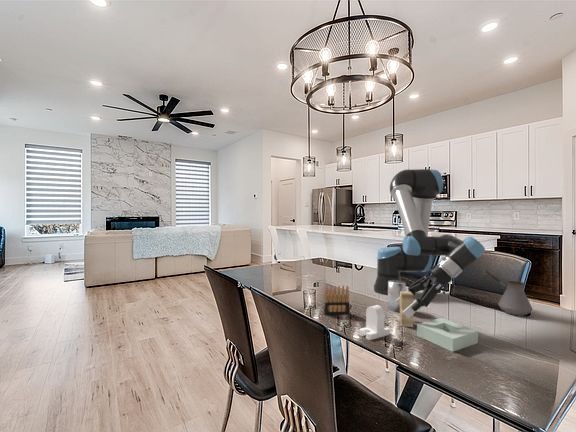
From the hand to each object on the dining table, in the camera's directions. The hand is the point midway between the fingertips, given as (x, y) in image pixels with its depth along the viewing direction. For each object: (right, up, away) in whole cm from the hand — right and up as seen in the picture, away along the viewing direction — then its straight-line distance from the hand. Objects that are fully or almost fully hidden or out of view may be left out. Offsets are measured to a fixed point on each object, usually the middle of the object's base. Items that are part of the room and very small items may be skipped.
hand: (401, 308), depth 111 cm
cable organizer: (-13, -6, -9) cm, 17 cm away
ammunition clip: (-23, -6, +11) cm, 26 cm away
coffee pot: (+52, -6, +18) cm, 55 cm away
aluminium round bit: (+4, -5, +17) cm, 18 cm away
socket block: (+10, -6, -13) cm, 17 cm away
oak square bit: (+2, -6, 0) cm, 6 cm away
